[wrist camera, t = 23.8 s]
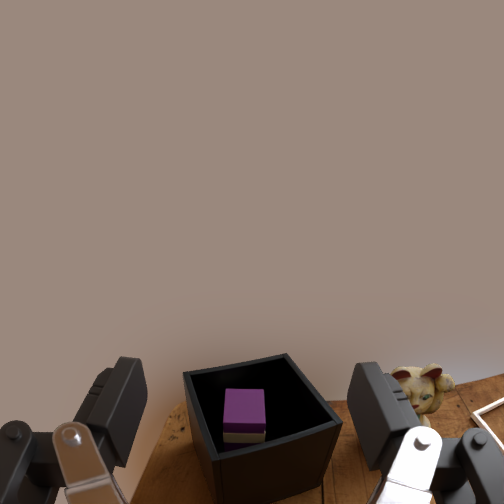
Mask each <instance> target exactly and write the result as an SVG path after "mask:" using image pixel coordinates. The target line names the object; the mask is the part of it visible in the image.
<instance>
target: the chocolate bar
mask: <svg viewBox="0 0 504 504" xmlns="http://www.w3.org/2000/svg"><path fill="white" fill-rule="evenodd" d="M265 425H266V420H265V404H264V390H263V389H226V391H225V403H224V416H223V441H224V449H225V452H228V451H232V450H237V449H241V448H245V447H249V446H253V445H257V444H261V443H264V442H265Z"/></svg>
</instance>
